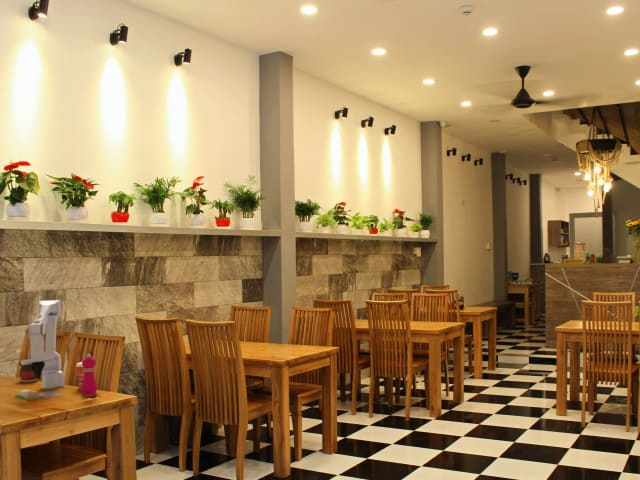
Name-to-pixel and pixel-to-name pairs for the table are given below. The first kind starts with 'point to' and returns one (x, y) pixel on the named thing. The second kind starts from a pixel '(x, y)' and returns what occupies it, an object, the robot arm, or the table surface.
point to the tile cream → (24, 392)
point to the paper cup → (80, 374)
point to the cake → (27, 371)
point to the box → (30, 397)
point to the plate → (49, 393)
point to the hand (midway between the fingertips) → (37, 378)
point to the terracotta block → (33, 393)
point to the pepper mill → (89, 377)
